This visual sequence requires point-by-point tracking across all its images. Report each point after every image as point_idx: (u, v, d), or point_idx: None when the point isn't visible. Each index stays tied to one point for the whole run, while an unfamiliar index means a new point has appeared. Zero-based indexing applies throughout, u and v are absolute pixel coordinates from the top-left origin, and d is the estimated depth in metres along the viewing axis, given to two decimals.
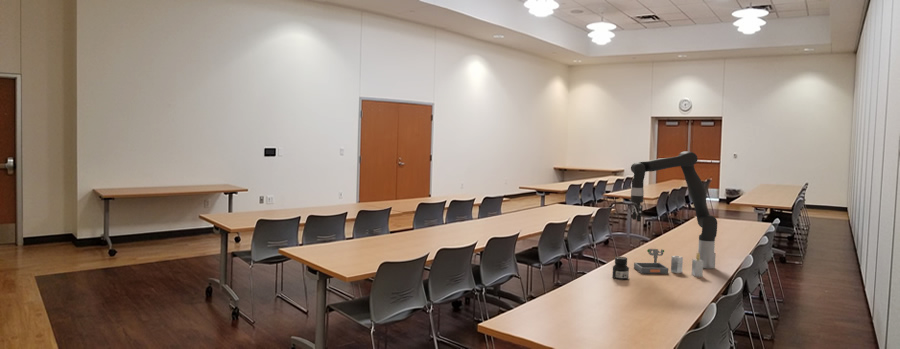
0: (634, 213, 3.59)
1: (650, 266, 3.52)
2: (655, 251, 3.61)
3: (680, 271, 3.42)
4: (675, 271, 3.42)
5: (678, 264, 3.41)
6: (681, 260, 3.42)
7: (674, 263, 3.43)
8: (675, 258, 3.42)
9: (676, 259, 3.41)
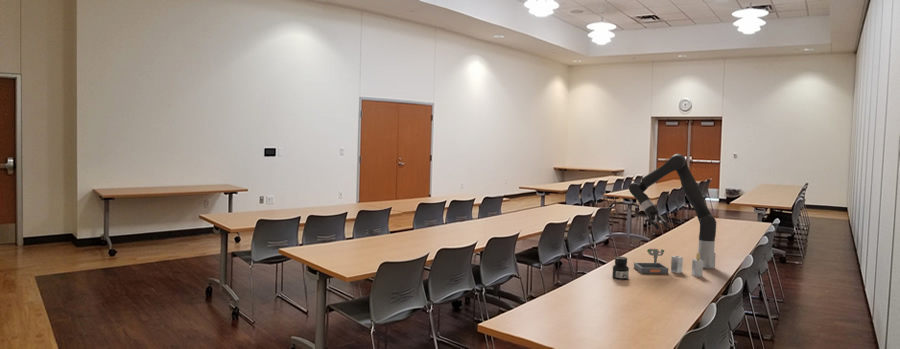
0: (664, 223, 3.61)
1: (650, 266, 3.52)
2: (655, 251, 3.61)
3: (680, 271, 3.42)
4: (675, 271, 3.42)
5: (678, 264, 3.41)
6: (681, 260, 3.42)
7: (674, 263, 3.43)
8: (675, 258, 3.42)
9: (676, 259, 3.41)
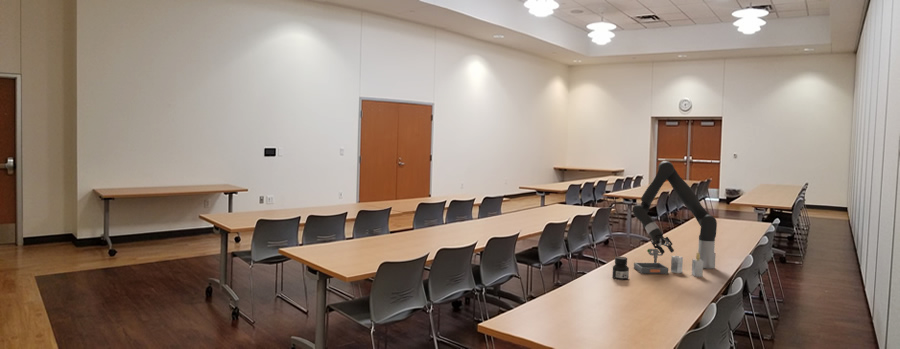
0: (669, 246, 3.53)
1: (650, 266, 3.52)
2: (655, 251, 3.61)
3: (680, 271, 3.42)
4: (675, 271, 3.42)
5: (678, 264, 3.41)
6: (681, 260, 3.42)
7: (674, 263, 3.43)
8: (675, 258, 3.42)
9: (676, 259, 3.41)
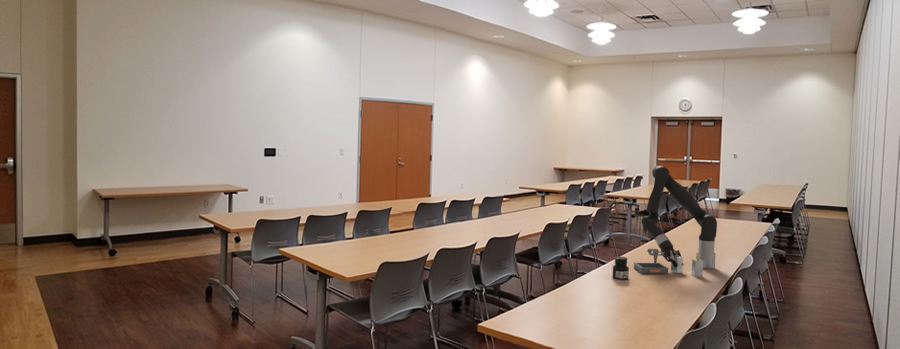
0: None
1: (650, 266, 3.52)
2: (655, 251, 3.61)
3: (680, 271, 3.42)
4: (675, 271, 3.42)
5: (678, 264, 3.41)
6: (680, 260, 3.42)
7: None
8: (675, 258, 3.42)
9: (676, 259, 3.41)
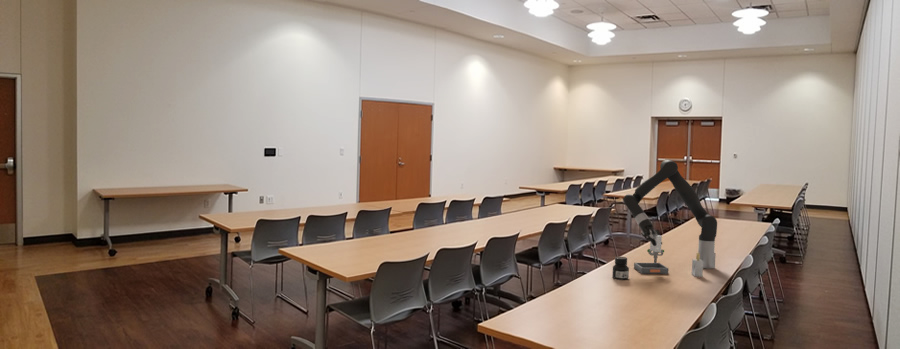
0: None
1: (650, 266, 3.52)
2: None
3: (659, 250, 3.43)
4: (654, 250, 3.43)
5: (657, 243, 3.42)
6: (659, 239, 3.43)
7: None
8: (654, 237, 3.43)
9: (655, 238, 3.42)
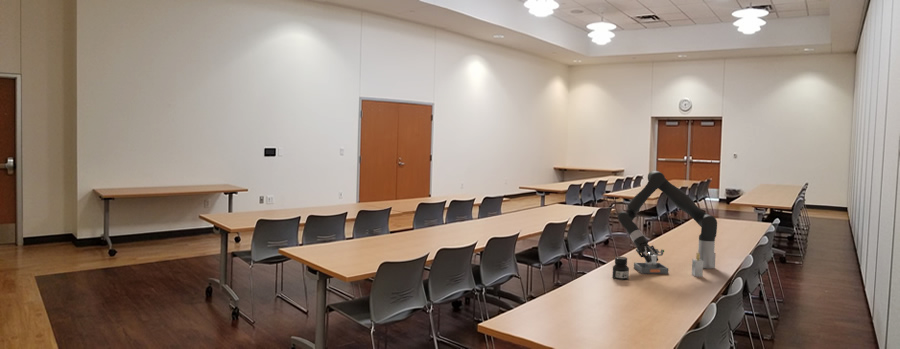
0: None
1: None
2: None
3: None
4: None
5: (652, 262, 3.43)
6: (654, 258, 3.44)
7: None
8: (649, 256, 3.44)
9: (650, 257, 3.43)
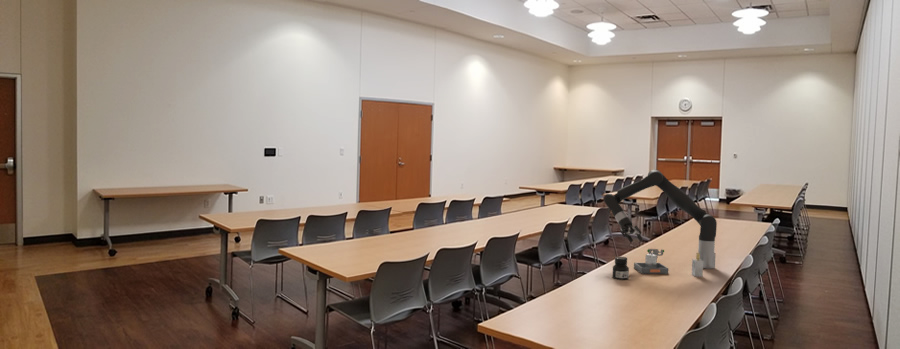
0: (637, 235, 3.59)
1: None
2: (655, 251, 3.61)
3: None
4: None
5: (652, 262, 3.43)
6: (654, 258, 3.44)
7: (647, 261, 3.45)
8: (649, 256, 3.44)
9: (650, 257, 3.43)
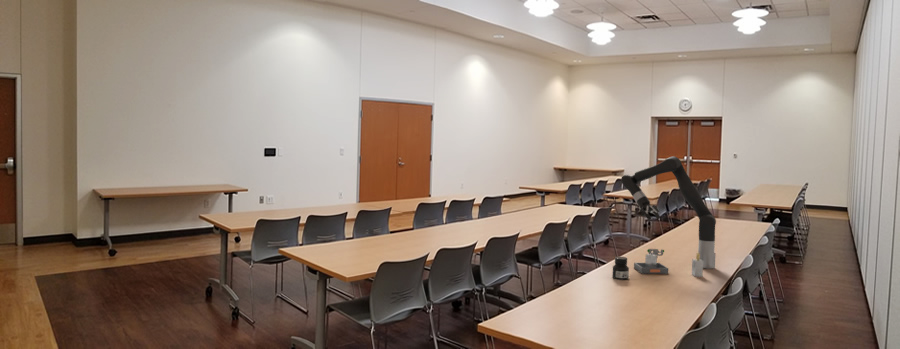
0: (655, 213, 3.71)
1: None
2: (655, 251, 3.61)
3: None
4: None
5: (652, 262, 3.43)
6: (654, 258, 3.44)
7: (647, 261, 3.45)
8: (649, 256, 3.44)
9: (650, 257, 3.43)
